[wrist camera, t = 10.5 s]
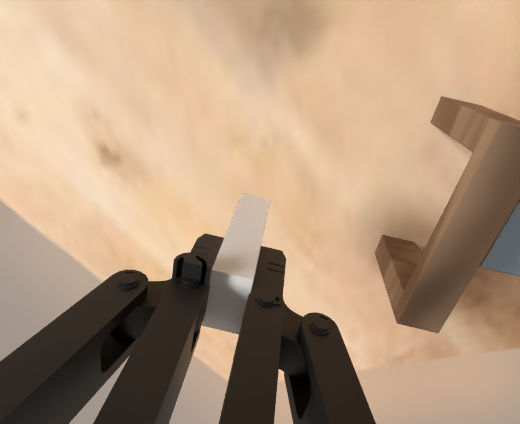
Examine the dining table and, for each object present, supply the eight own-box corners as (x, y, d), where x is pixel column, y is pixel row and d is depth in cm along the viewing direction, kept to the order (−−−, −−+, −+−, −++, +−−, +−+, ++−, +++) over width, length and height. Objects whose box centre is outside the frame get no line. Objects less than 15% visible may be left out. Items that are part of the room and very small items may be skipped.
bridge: (374, 252, 33) (396, 323, 25) (441, 96, 27) (501, 123, 19) (406, 260, 33) (438, 333, 25) (480, 105, 27) (557, 136, 19)
